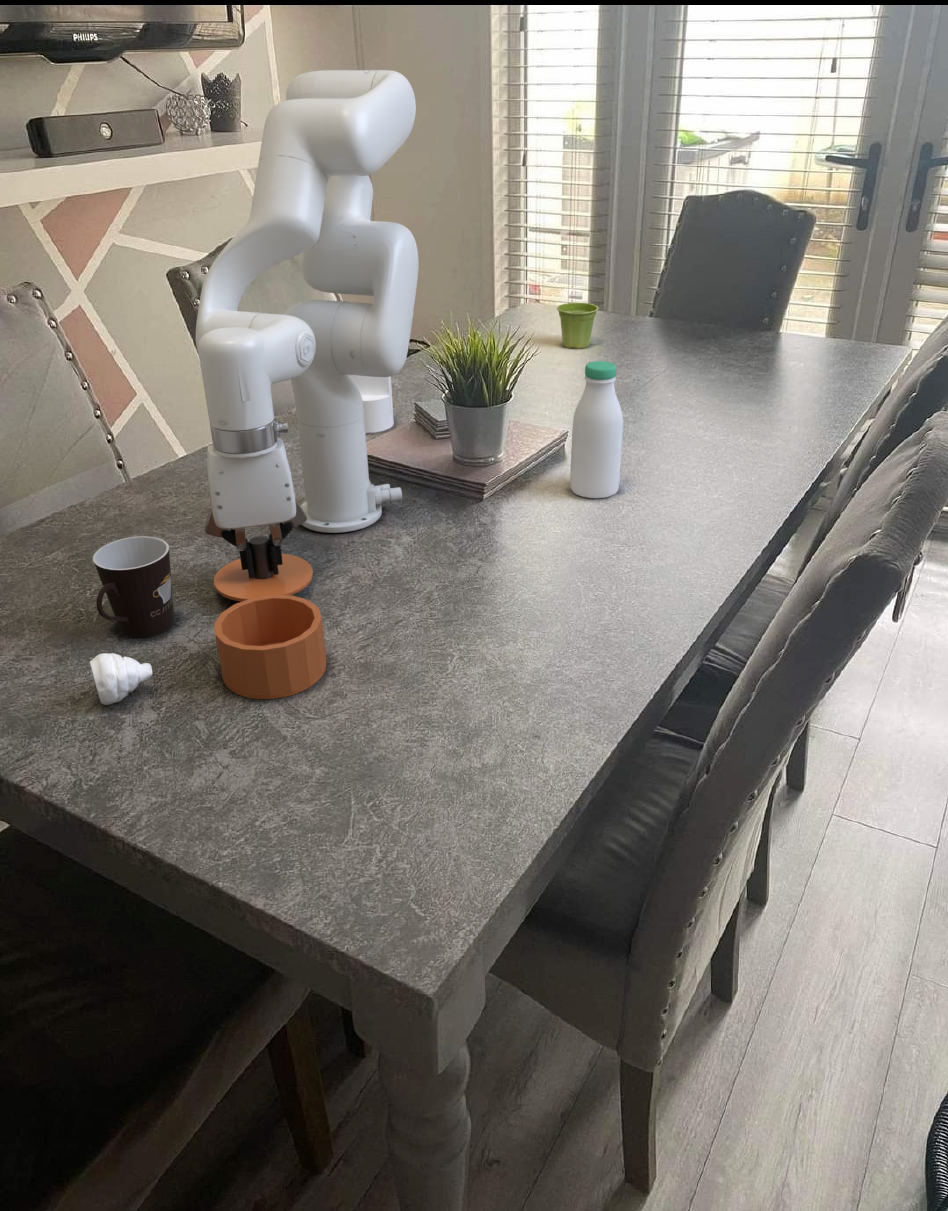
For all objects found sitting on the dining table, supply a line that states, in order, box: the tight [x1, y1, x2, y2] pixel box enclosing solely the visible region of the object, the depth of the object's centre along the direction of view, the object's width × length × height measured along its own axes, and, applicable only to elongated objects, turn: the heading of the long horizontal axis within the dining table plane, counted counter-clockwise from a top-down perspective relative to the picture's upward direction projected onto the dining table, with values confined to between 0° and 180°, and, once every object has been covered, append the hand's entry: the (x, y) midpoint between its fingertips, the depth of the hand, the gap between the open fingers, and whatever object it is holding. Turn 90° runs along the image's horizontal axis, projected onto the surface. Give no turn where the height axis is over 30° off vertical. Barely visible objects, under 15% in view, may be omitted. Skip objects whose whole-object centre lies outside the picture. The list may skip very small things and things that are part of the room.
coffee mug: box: [92, 535, 175, 640], centre depth 115 cm, size 12×9×10 cm
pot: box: [213, 595, 327, 700], centre depth 108 cm, size 12×12×6 cm
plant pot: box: [556, 302, 599, 349], centre depth 221 cm, size 9×9×9 cm
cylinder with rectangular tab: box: [350, 375, 395, 434], centre depth 176 cm, size 9×9×12 cm
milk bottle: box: [569, 360, 624, 499], centre depth 147 cm, size 8×8×20 cm
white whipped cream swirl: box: [89, 652, 153, 706], centre depth 104 cm, size 6×6×5 cm
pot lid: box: [213, 535, 314, 602], centre depth 123 cm, size 13×13×6 cm
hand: (262, 570), depth 124 cm, fingers closed on pot lid, 2 cm apart
